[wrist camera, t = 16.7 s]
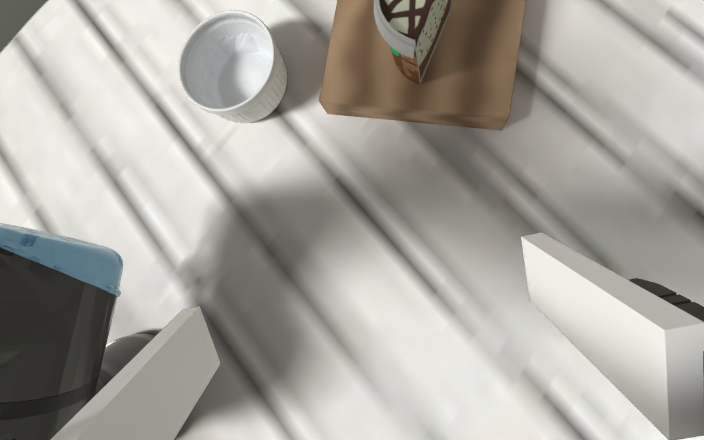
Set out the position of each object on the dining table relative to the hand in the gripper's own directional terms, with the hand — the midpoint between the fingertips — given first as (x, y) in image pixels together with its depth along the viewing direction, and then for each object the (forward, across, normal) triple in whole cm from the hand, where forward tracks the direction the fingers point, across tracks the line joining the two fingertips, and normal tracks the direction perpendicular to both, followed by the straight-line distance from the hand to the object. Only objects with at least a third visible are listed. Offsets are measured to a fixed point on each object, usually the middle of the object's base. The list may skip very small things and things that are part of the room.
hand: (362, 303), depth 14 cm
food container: (+33, +10, +15) cm, 38 cm away
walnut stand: (+37, +11, +14) cm, 41 cm away
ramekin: (+40, -12, +16) cm, 45 cm away
